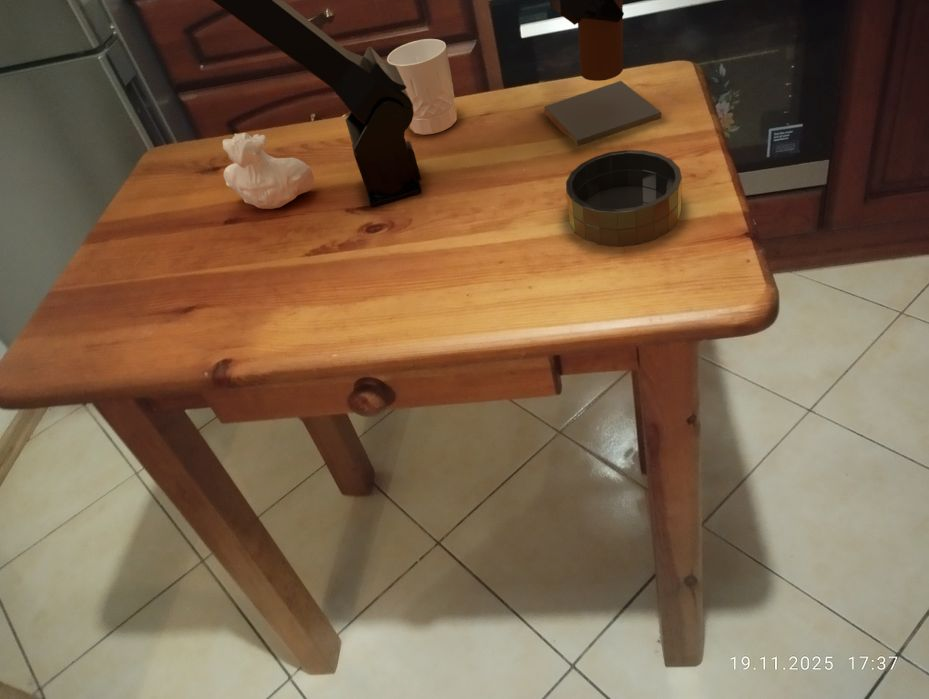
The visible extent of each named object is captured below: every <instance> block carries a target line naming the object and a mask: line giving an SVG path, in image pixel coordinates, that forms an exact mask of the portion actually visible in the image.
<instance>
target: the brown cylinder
mask: <svg viewBox="0 0 929 699" xmlns="http://www.w3.org/2000/svg"><path fill="white" fill-rule="evenodd" d="M615 1H616V3H617V4H618V5H619V7H620V8H621V10H622V11H623V12H624V5H623V2H624V1H623V0H615ZM623 21H624V16H623V17H622V18H621V20H620V21H619V22H609V21H601V20H592V19H581V21H580V22H578V23H577V32H578V33H577V34H578V52H579V71H580V76H581V77H582V78H583V79H585V80H587V81H593V82H601V81H602V82H603V81H607V80H611V79H614V78H616V77H618V76H620V75H621V73H622V72H623V70H624V22H623Z"/></svg>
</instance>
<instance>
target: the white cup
mask: <svg viewBox="0 0 929 699" xmlns="http://www.w3.org/2000/svg"><path fill="white" fill-rule="evenodd" d="M386 62H387V63H388V64H392V65H395V66H396V67H397V69H398V71H399V73H400V75H401V77H402V79H403V81H404V83H405V85H406V89H405V90H406V92H407V94H408V96H409V98H410V100H411V102H412V104H413V112H414V114H413V119H412V122H411V124H410V125H409V129H410V130H411V131H412V132H413V133H414V134H417V135H421V136H422V135H423V136H424V135H434V134H438V133H441V132H445V131H446V130H448V129H449V128H451V127H452V126H453V125H455V123H456V122H457V120H458V119H457V118H458V115H457V114H458V113H457V108H456V103H455V100H456V99H455V97H456V96H455V92H454V84H453V79H452V78H453V76H452V71H451V67H450V66H451V65H450V61H449V55H448V48H447V44H446V42H445V41H444V40H441V39H436V38H423V39H418V40H414V41H411V42H408V43H404V44H402V45H400V46H398V47H396V48H395V49H393V50H392V51H391V52H389V54H388V55H387V58H386Z"/></svg>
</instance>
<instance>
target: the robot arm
mask: <svg viewBox="0 0 929 699" xmlns="http://www.w3.org/2000/svg"><path fill="white" fill-rule="evenodd" d="M211 1H212V2H214V3H215V4H216V5H218V6H219V7H220V8H222V9H223V10H225V11H226V12H227V13H228V14H230V15H231V16H233V17H234V18H236V19H237V20H238V21H239V22H241V23H242V24H244V25H245V26H246V27H248V28H250V30H252V31H253V32H255V33H256V34H257V35H259V36H260V37H262V38H263V39H264V40H266V42H268V43H270V44H271V45H272V46H274V47H275V48H277V49H278V50H279V51H281V52H282V53H284V55H286V56H287V57H289V58H290V59H291V60H293V61H294V62H296V63H297V64H298V65H299V66H301V67H303V68H304V69H305V70H307V71H308V72H309V73H310V74H312V75H313V76H315V77H316V78H317V79H319V80H320V81H322V82H323V83H325V85H327V86H328V87H329V88H331V90H333V91H334V93H335V94H336V95H337V97H338V98H339V99H340V100H341V102H342V103H343V104H344V105H345V107H346V108H347V109H348V110H349V113H348V115H347V117H346V119H345V123H346V127H347V130H348V134H349V138H350V140H351V147H352V151H353V156H354V159H355V163H356V165H357V167H358V171H359V174H360V177H361V179H362V182H363V185H364V188H365V191H366V196H367V202H368V204H369V206H370V207H376V206H379V205H382V204H385V203H389V202H391V201H395V200H399V199H401V198H402V199H403V198H405V197H409V196H412V195H416V194H418V193H420V192H421V191H422V189H421V186H420V183H419V181H421V179H422V176H421V173H420V170H419V165H418V162H417V158H416V154H415V152H414V148H413V145H412V142H411V141H410V140H406V137H405V132H406V130H407V129H409V128H410V126H409V125H410V124H411V122H412V119H413V114H414V112H413V104H412V102H411V100H410V98H409V96H408V94H407V92H406V90H405V89H406V85H405V83H404V81H403V79H402V77H401V75H400V73H399V71H398V69H397V67H396V66H395V65H392V64H388V61H385V60H384V59H383V58H381V57H380V55H379V54H378V53H377V52H376V51H375V50H374V49H373V47H372V46H370V45H369V46H368V47H367V48H366V50H365V53H364V54H363V55H360V54H358V53H354V52H352V51H350V50H348V49H346V48H344V47H343V45H341V44H339V43H338V42H337V41H335V39H333V38H332V37H330V36H329V35H328V34H327V33H325V32H324V31H323V30H322V29H320V28H319V27H318V26H317V25H315V24H314V23H313V22H312V21H310V20H308V19H307V18H306V17H305V16H303V15H302V14H301V13H300V12H299V11H297V10H296V9H295V8H294V7H292V6H291V5H290V4H288V3H287V2H286V1H284V0H211ZM549 7H551V8H552V9H553V10H554V11H555V12H556V13H558V14H559V15H560V16H561V17H562V18H564V19H566V20H567V21H568V22H569V23H571V24H572V25H574V26H576V25H578V22H580V21H581V19H592V20H601V21H609V22H619V21H620V20H621V18H622V17H623V18H624V15H625V13H624V10H623V11H622V10H621V8H620V7H619V5H618V4H617V3H616V1H615V0H549Z"/></svg>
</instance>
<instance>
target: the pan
mask: <svg viewBox="0 0 929 699" xmlns="http://www.w3.org/2000/svg"><path fill="white" fill-rule="evenodd" d="M682 189H683V176H682V171H681V168H680V166H678V164H676V162H675V161H674V160H672V158H669V157H667V156H665V155H663V154H661V153H658V152H653V151H650V150H649V151H648V150H643V149H642V150H640V149H639V150H637V149H625V150H617V151H610V152H607V153H603V154H600V155H599V154H598V155H596V156H594V157H592V158H590V159H588V160H585V161H584V162H582V163H580V164H579V165H578V166H577V167H575V168H574V169H573V170H572V171H571V172H570V174H569V176H568V177H567V179H566V181H565V193H566V200H567V201H566V202H567V210H568V221H569V224H570V226H571V228H572V230H573V231H574V232H575V234H577V235H578V236H579V237H580V238H582V239H583V240H585V241H588V242H589V243H592V244H595V245H600V246H605V247H630V246H637V245H641V244H645V243H648V242H651V241H654V240H656V239H658V238H660V237H662V236H664V235H665V234H667V233H668V232H670V231H671V230H672V229H673V228H674V227H675V225H676V224H677V223H678V221H679V219H680V215H681V213H682V192H683V191H682Z"/></svg>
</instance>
